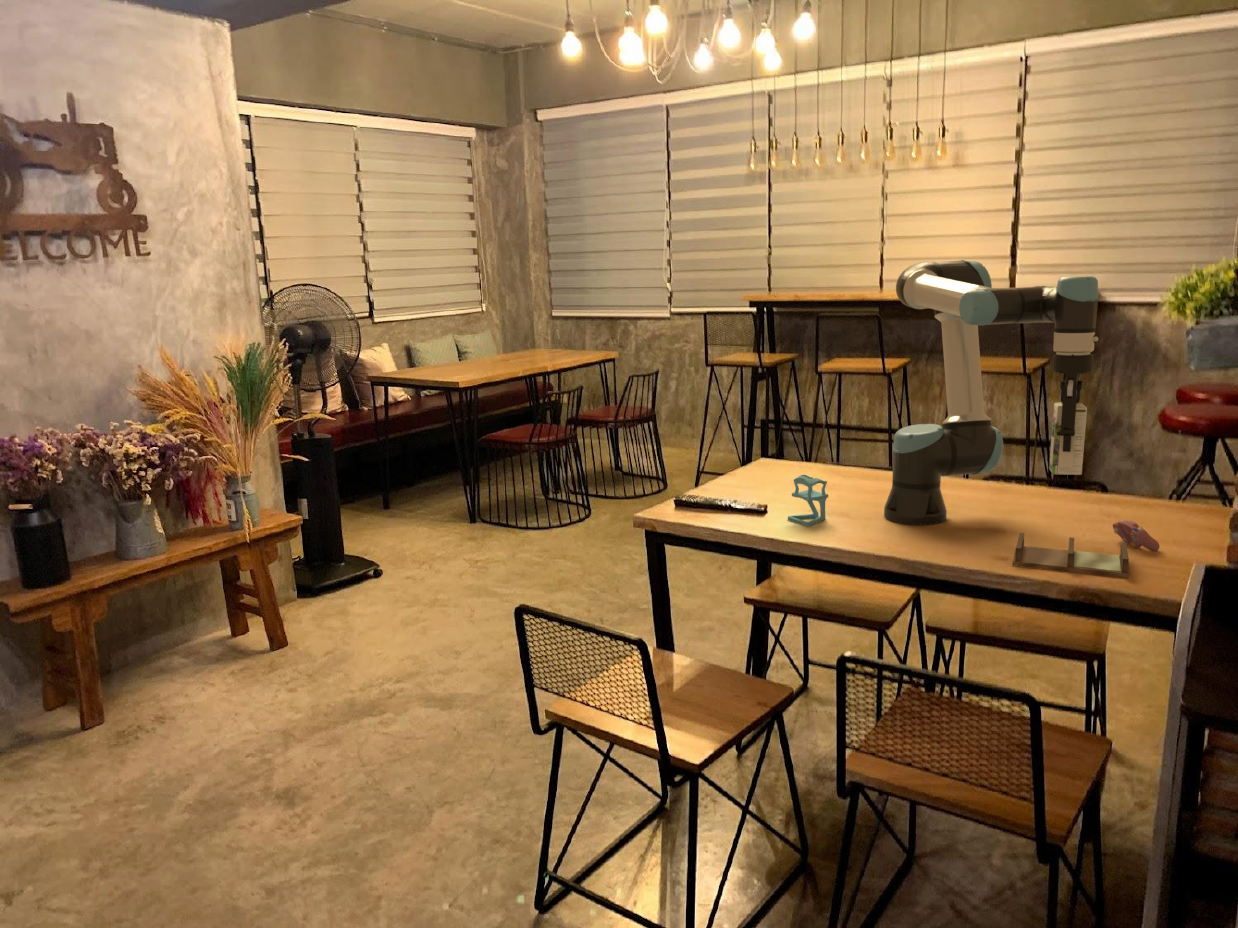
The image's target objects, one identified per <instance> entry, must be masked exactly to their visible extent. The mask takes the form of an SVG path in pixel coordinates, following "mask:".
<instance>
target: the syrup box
mask: <svg viewBox="0 0 1238 928" xmlns="http://www.w3.org/2000/svg"><path fill="white" fill-rule="evenodd" d="M1062 404H1063V403H1061V401H1060V402H1054V404H1053V415H1052V427H1051V437H1050V439H1051V440H1050V452H1049V466H1048V467H1049V471H1050V472H1051V473H1052V475H1063V476H1067V475H1068V476H1069V475H1071V476H1072V475H1075V476H1077V475H1078V476H1080V475H1083V467H1084V466H1083V463H1084V450H1085V437H1086V427H1087V417H1088V416H1087V414H1088V406H1086V405H1084V404H1083V403H1082V402H1081V403H1080V402H1079V403H1078V404H1077V405H1076V417H1075V435H1074V436H1075V444H1074V460H1073V467H1058V464H1059V448H1060V436H1057V432H1060V430H1061V419H1062Z"/></svg>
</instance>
